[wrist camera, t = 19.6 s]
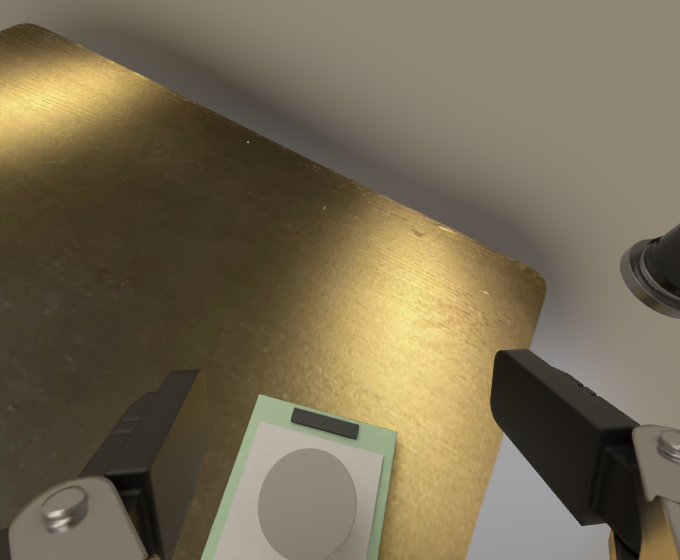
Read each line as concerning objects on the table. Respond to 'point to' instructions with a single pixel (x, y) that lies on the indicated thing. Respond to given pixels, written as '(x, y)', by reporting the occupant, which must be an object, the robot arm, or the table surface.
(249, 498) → the scale
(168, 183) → the table surface
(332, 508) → the container
